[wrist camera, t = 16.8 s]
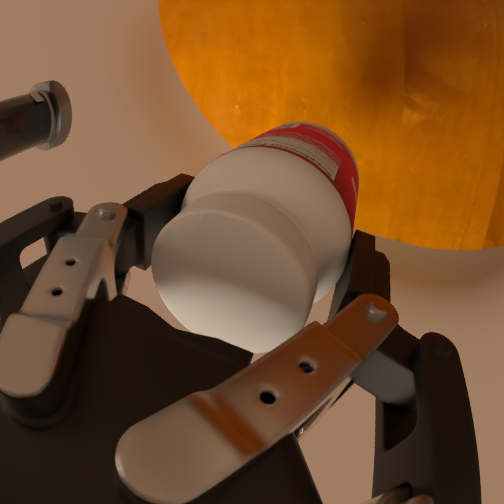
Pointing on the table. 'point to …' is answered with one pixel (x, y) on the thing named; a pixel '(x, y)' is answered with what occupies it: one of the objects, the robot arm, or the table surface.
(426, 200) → the table surface
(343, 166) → the pill bottle
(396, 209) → the table surface
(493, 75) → the table surface
